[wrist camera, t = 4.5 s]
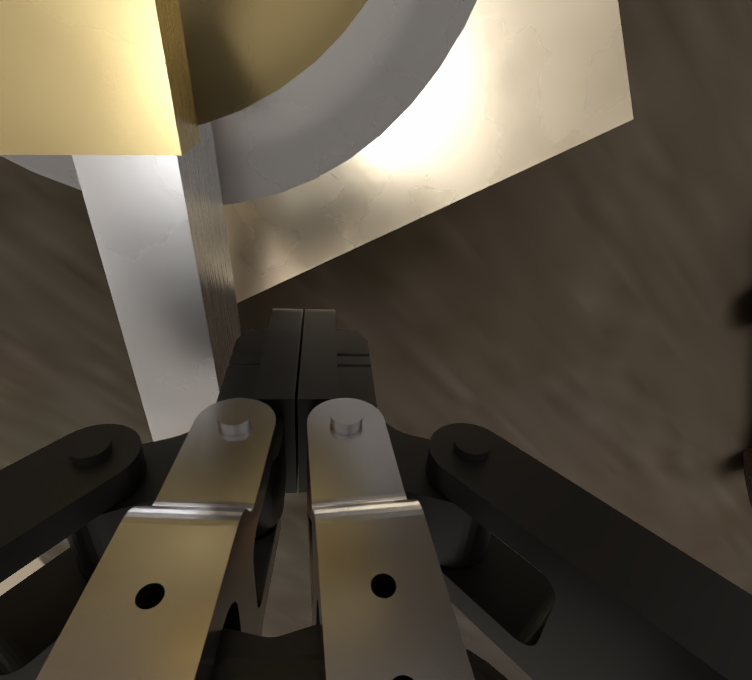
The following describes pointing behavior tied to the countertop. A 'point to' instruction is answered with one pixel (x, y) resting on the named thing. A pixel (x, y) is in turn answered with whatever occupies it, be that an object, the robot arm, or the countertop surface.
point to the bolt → (748, 471)
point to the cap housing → (405, 124)
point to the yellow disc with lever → (156, 155)
